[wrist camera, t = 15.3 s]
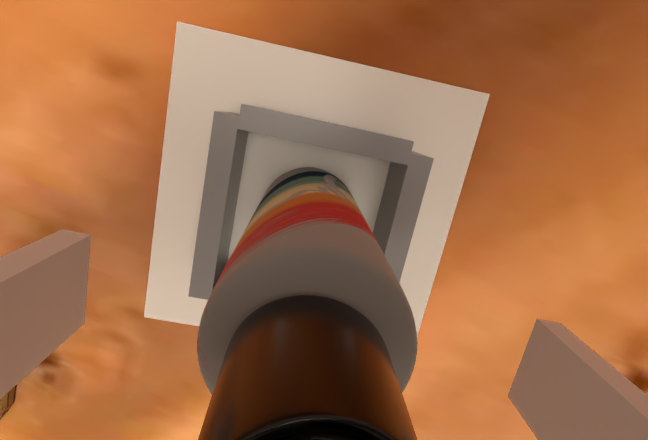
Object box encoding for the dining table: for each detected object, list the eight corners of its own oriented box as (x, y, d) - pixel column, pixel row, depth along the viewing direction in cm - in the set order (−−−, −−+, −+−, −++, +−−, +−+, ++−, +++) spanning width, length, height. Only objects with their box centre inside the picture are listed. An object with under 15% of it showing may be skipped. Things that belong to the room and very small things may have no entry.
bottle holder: (479, 95, 25) (526, 89, 19) (404, 349, 29) (426, 401, 24) (185, 27, 23) (148, 0, 18) (152, 306, 27) (115, 352, 22)
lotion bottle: (370, 189, 24) (606, 479, 5) (329, 269, 26) (395, 745, 6) (284, 149, 24) (180, 311, 4) (247, 233, 25) (32, 654, 5)
